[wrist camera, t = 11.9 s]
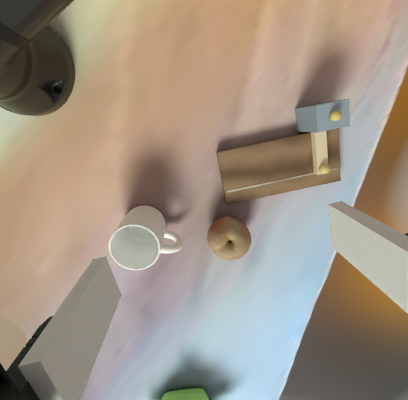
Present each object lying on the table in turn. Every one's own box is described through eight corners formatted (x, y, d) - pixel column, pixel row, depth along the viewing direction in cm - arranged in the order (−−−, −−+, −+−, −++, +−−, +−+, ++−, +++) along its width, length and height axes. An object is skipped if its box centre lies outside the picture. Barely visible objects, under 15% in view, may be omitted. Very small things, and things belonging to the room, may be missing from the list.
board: (216, 151, 47) (217, 152, 45) (332, 126, 46) (338, 126, 44) (225, 201, 50) (227, 204, 48) (334, 178, 49) (340, 180, 47)
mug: (188, 214, 50) (188, 237, 40) (178, 250, 52) (175, 279, 42) (129, 199, 49) (113, 218, 39) (121, 236, 51) (104, 264, 41)
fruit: (234, 204, 50) (242, 218, 42) (251, 236, 52) (261, 255, 45) (199, 222, 51) (201, 240, 43) (217, 253, 53) (222, 274, 45)
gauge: (295, 108, 45) (319, 105, 36) (322, 102, 45) (353, 97, 36) (300, 172, 49) (324, 183, 40) (326, 167, 49) (355, 177, 40)
